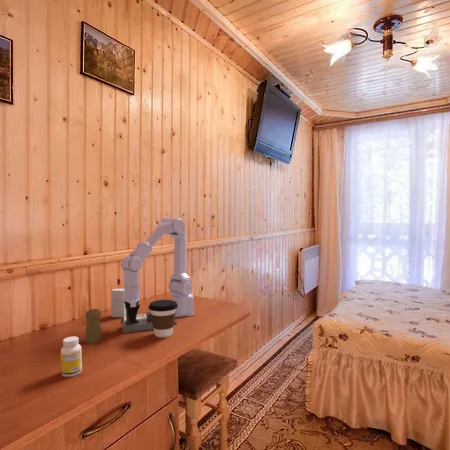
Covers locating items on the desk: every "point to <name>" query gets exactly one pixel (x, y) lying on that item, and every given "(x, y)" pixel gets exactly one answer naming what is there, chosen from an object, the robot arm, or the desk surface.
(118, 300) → the skincare box
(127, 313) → the plug
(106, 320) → the desk surface
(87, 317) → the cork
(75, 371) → the supplement bottle
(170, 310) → the coffee cup
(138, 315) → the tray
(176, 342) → the desk surface
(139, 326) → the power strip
